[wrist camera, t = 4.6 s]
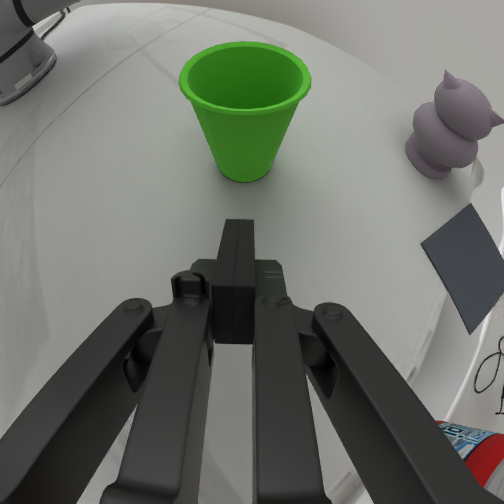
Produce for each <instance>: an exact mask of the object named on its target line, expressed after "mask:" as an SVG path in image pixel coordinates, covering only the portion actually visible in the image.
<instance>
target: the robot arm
mask: <svg viewBox="0 0 504 504" xmlns="http://www.w3.org/2000/svg"><path fill="white" fill-rule="evenodd" d="M80 1H81V0H0V105H5V104H8V103H10V102H12V101H13V100H15V99H17V98H18V97H20V96H21V95H23V94H24V93H25V92H27V91H28V90H29V89H30V88H32V87H33V86H34V85H35V84H36V83H37V82H38V81H39V80H41V79H42V78H43V77H44V76H45V74H46V73H47V72H48V71H49V70H50V69H51V68H52V66H53V65H54V63H55V61H56V54H55V52H54V50H53V49H52V48H51V47H50V46H48V45H47V44H46V43H45V42H44V41H43V38H44V37H45V36H46V35H47V34H48V33H49V32H50V31H51V30H52V29H53V28H54V27H55V26H56V25H57V24H58V23H59V22H60V21H61V20H62V19H63V17H64V16H65V12H63V9H64V8H67V11H68V13H70V9H69V7H68V6H70V5H72V4H74V3H77V2H80ZM58 11H60V13H61V14H62V16H61V18H60V19H59V20H58V21H57V22H56V23H55V24H54V25H53V26H52V27H51V28H50V29H49V30H48V31H47V32H45V33H44V34H43V36H42V37H41V38H39V37H38V36H37V35H36V34H35V32H34V30H33V28H32V26H33V25H35V24H37V23H38V22H40V21H41V20H43V19H45V18H47V17H49V16H50V15H52V14H54V13H56V12H58ZM171 284H172V291H173V298H174V299H173V302H172V304H170V305H167V306H162V307H156V308H152V305H151V303H150V302H149V301H148V300H145V299H142V298H132V299H129V300H126V301H124V302H122V303H121V304H120V305H118V306H117V307H116V309H115V310H114V311H113V312H112V313H111V314H110V315H109V316H108V317H107V318H106V319H105V320H104V321H103V322H102V323H101V324H100V325H99V326H98V327H97V328H96V329H95V330H94V331H93V332H92V333H91V334H90V336H89V337H88V338H87V339H86V340H85V341H84V342H83V343H82V344H81V345H80V346H79V347H78V348H77V349H76V351H75V352H74V353H73V354H72V355H71V356H70V357H69V358H68V359H67V360H66V362H65V363H64V364H63V365H62V366H61V367H60V368H59V369H58V371H57V372H56V373H55V374H54V375H53V376H52V377H51V378H50V380H49V381H48V382H47V383H46V384H45V385H44V387H43V388H42V389H41V390H40V391H39V392H38V394H37V395H36V396H35V397H34V398H33V399H32V401H31V402H30V403H29V404H28V405H27V407H26V408H25V409H24V410H23V412H22V413H21V414H20V415H19V416H18V418H17V419H16V420H15V421H14V423H13V424H12V425H11V427H10V428H9V429H8V430H7V432H6V433H5V434H4V435H3V437H2V438H1V439H0V504H76V503H77V501H78V500H79V498H80V496H81V495H82V493H83V491H84V490H85V488H86V486H87V485H88V483H89V481H90V480H91V478H92V477H93V475H94V473H95V472H96V470H97V468H98V467H99V465H100V463H101V462H102V460H103V459H104V457H105V455H106V454H107V452H108V450H109V449H110V447H111V446H112V444H113V442H114V441H115V439H116V437H117V436H118V434H119V433H120V431H121V429H122V428H123V426H124V425H125V423H126V421H127V420H128V418H129V417H130V415H131V413H132V412H133V410H134V409H135V407H136V405H137V404H138V406H137V409H136V412H135V416H134V419H133V422H132V426H131V429H130V433H129V437H128V440H127V444H126V447H125V451H124V455H123V459H122V463H121V466H120V470H119V474H118V477H117V479H116V481H115V482H114V483H112V484H110V485H108V486H107V487H106V488H105V490H104V491H103V493H102V496H101V499H100V503H99V504H198V493H199V482H200V472H201V462H202V452H203V442H204V433H205V424H206V415H207V407H208V398H209V390H210V381H211V373H212V365H213V357H214V346H213V342H214V339H215V343H219V344H253V348H252V441H253V504H332V502H331V500H330V499H329V498H328V497H327V496H326V494H325V492H324V487H323V479H322V472H321V465H320V459H319V452H318V445H317V439H316V433H315V426H314V420H313V414H312V408H311V402H310V396H309V390H308V384H307V379H306V374H307V376H308V378H309V380H310V382H311V383H312V385H313V387H314V389H315V391H316V393H317V395H318V397H319V399H320V401H321V403H322V405H323V407H324V409H325V411H326V413H327V415H328V416H329V418H330V420H331V422H332V424H333V426H334V428H335V430H336V432H337V434H338V436H339V438H340V440H341V442H342V443H343V445H344V447H345V449H346V451H347V453H348V455H349V457H350V459H351V461H352V463H353V465H354V466H355V468H356V470H357V472H358V474H359V476H360V478H361V480H362V482H363V484H364V486H365V487H366V489H367V491H368V493H369V495H370V497H371V499H372V501H373V503H374V504H504V501H503V500H502V499H500V498H498V497H497V496H495V495H494V494H492V493H491V492H489V491H488V490H486V489H485V488H483V487H482V486H480V484H479V483H478V481H477V480H476V478H475V477H474V475H473V474H472V472H471V471H470V469H469V468H468V466H467V465H466V463H465V462H464V461H463V459H462V458H461V456H460V455H459V453H458V452H457V450H456V449H455V448H454V446H453V445H452V443H451V442H450V441H449V439H448V438H447V436H446V435H445V434H444V432H443V431H442V429H441V428H440V427H439V425H438V424H437V423H436V421H435V420H434V419H433V417H432V416H431V414H430V413H429V412H428V411H427V409H426V408H425V406H424V405H423V404H422V402H421V401H420V400H419V398H418V397H417V396H416V394H415V393H414V392H413V390H412V389H411V388H410V386H409V385H408V384H407V383H406V381H405V380H404V379H403V377H402V376H401V375H400V373H399V372H398V371H397V370H396V368H395V367H394V366H393V365H392V363H391V362H390V361H389V359H388V358H387V357H386V356H385V354H384V353H383V352H382V351H381V349H380V348H379V347H378V346H377V344H376V343H375V342H374V341H373V339H372V338H371V337H370V336H369V334H368V333H367V332H366V331H365V329H364V328H363V327H362V326H361V324H360V323H359V322H358V321H357V320H356V318H355V317H354V316H353V315H352V313H351V312H350V311H349V310H348V309H347V308H346V307H344V306H342V305H340V304H337V303H332V302H327V303H322V304H319V305H317V306H316V307H315V309H314V311H310V310H305V309H301V308H299V307H297V306H295V305H293V304H292V301H291V299H290V297H288V296H287V292H286V286H285V281H284V276H283V271H282V266H281V265H280V264H279V263H278V262H277V261H276V260H255V247H254V220H245V219H226V221H225V225H224V230H223V234H222V238H221V242H220V247H219V251H218V256H217V259H198V260H197V261H196V262H194V263H193V264H192V266H191V269H190V270H187V271H183V272H179V273H177V274H175V275H174V276H173V277H172V278H171ZM305 372H306V373H305Z"/></svg>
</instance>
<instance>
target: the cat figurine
mask: <svg viewBox="0 0 504 504" xmlns="http://www.w3.org/2000/svg"><path fill="white" fill-rule="evenodd" d="M434 99H435V101H434V102H428V103H424V104H422V105H421V106H420V107H419V108H418V109H417V110H416V111H415V113H414V118H413V129H414V132H413V133H412V134H411V136H410V137H409V139H408V140H407V142H406V146H405V148H406V153H407V155H408V157H409V159H410V161H411V162H412V164H413V165H414V166H415V167H416V168H417V169H418V170H419V171H420V172H421V173H422V174H424V175H426V176H427V177H430V178H433V179H442V178H444V177H445V176H446V175H447V174H448V173H449V172H450V171H451V169H452V168H463V167H466V166H468V165H470V164H471V163H472V162H473V161H474V159H475V157H476V155H477V152H478V143H477V140H479V139H482V138H484V137H486V136H487V135H489V133H490V132H491V130H492V127H495V126H498V125H500V124H503V123H504V119H503V118H501V117H500V116H499V115H498V114H497V113H496V112H495V111H494V110H493V109H492V107H491V105H490V103H489V101H488V99H487V97H486V96H485V95H484V94H483V93H482V91H481V90H480V89H478V88H477V87H476V86H474V85H473V84H472V83H470V82H468V81H465V80H463V79H457V78H455V77H453V76H452V75H451V74H450V73H449V72H447V71H446V70H445V74H444V80H443V82H441V83H440V84H439V85H438V87H437V88H436V90H435V94H434Z"/></svg>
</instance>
